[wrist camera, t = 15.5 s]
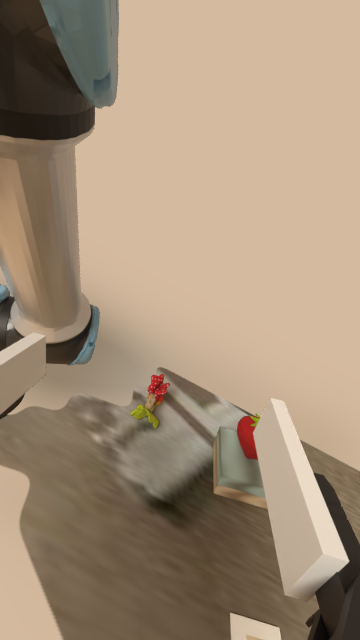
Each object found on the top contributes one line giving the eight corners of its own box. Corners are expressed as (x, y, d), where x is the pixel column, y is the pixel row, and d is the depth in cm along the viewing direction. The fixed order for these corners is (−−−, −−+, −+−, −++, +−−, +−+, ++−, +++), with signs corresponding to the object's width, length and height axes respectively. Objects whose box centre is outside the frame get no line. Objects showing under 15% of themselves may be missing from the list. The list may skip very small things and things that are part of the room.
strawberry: (238, 433, 47) (256, 395, 43) (272, 463, 42) (296, 424, 38) (221, 448, 42) (239, 408, 39) (257, 483, 38) (282, 441, 34)
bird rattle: (138, 408, 56) (124, 423, 47) (153, 364, 56) (141, 371, 47) (162, 418, 55) (153, 435, 46) (177, 373, 55) (170, 381, 46)
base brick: (213, 493, 40) (222, 475, 38) (213, 443, 49) (220, 426, 47) (270, 510, 39) (281, 492, 37) (259, 456, 49) (268, 440, 47)
